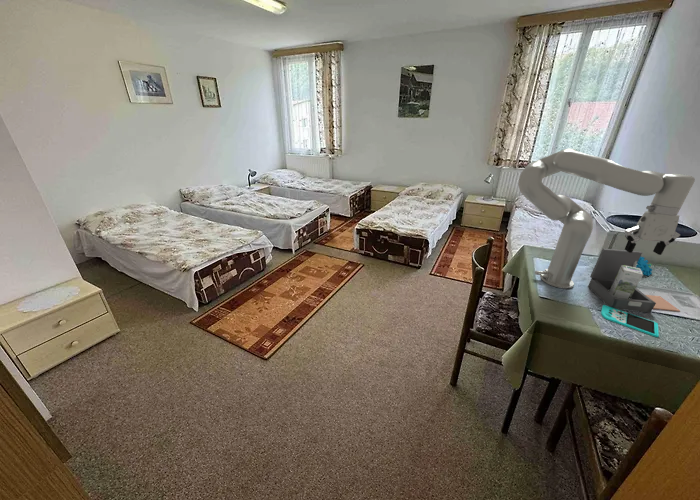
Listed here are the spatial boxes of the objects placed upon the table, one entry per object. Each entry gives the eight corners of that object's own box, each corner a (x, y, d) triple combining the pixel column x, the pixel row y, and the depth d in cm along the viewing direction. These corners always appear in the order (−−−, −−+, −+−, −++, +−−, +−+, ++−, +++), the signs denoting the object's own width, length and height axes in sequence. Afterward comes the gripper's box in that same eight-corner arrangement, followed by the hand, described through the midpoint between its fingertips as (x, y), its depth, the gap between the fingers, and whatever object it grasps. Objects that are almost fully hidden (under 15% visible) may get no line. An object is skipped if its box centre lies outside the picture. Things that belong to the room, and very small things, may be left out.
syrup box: (624, 297, 120) (640, 267, 114) (627, 304, 116) (643, 274, 109) (607, 293, 123) (621, 263, 117) (609, 300, 119) (624, 269, 112)
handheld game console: (602, 306, 115) (603, 303, 115) (656, 325, 105) (658, 322, 105) (599, 318, 109) (601, 315, 108) (657, 339, 99) (659, 336, 98)
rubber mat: (650, 308, 114) (651, 307, 113) (632, 294, 122) (633, 293, 122) (679, 311, 112) (680, 310, 112) (659, 297, 121) (660, 296, 121)
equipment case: (611, 309, 113) (632, 268, 105) (586, 285, 129) (602, 248, 121) (651, 313, 111) (676, 272, 103) (621, 288, 127) (640, 251, 118)
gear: (644, 275, 134) (635, 255, 138) (629, 278, 140) (621, 259, 143) (658, 274, 138) (649, 255, 141) (643, 278, 143) (634, 259, 146)
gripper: (643, 211, 100) (623, 254, 108) (701, 214, 98) (676, 258, 105) (629, 205, 107) (610, 246, 114) (682, 208, 104) (660, 250, 112)
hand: (642, 252), depth 110 cm, fingers open, 9 cm apart
